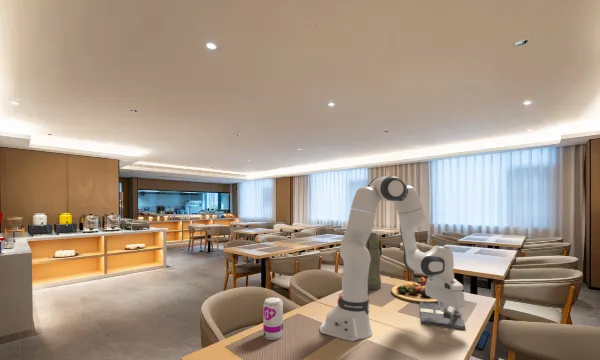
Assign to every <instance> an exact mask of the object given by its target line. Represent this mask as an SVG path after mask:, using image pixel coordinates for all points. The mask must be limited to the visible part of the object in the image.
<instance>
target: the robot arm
mask: <svg viewBox="0 0 600 360" xmlns="http://www.w3.org/2000/svg"><path fill="white" fill-rule="evenodd" d="M381 201H387V202H389V201H390V202H393V203H394V205H395V207H396V211H397V214H398V218H399V231H400V236H401V242H402V247H403V263H404V266H405V267H406V268H407V269H408V270H410V271H411V272H412V271H413V272H417V273H419V274H421V275H424V276H427V278H426V287H425V293H426V295H427V296H429V297H431V298H434V299H436V300H438V304H439V306H440V311H442V312H446V310H447V309H448V307H449V306H451V307H454V308H456V309H459V310H461V309H463V308H465V293H464V289H465V287H464V285H463V284H462V283H461V282H460V281H458V279H456V278H454V277H455V274H454V271H453V270H454V264H455V263H454V254H453V251H452V249H451V248H450V247H448V246H444V245H440V244H439V245H438V244H435V245H434V246H433V247H432V248H431V249H430V250H428V251H426V252H425V251H424V252H423V251H421V250H420V249H419V247H418V246H417V241H416V240H417V239H416V235H415V231H416V229H418V228H420V227H421V226H422V225H423V224H424V223H425V219H426V216H425V209H424V207H423V204H422V201H421V199H420V196H419V194H418V192H417V190H416V188H415V187H413V186H411V185H406V183H405V182H404V181H403V180H402V179H401V178H399V177H397V176H395V175H393V176H392V175H391V176H388V175H385V176H384V175H383V176H377V177H375V178H374V179H372V180H371V181H370V182H369V183H368V185H367V186H360V187H358V188H357V190H356V191H355V194H354V196H353V199H352V203H351V208H350V211H349V216H348V221H347V225H346V228H345V231H344V234H343V237H342V239H341V240H342V241H341V244H340V247H339V255H340V258H342V261H343V271H342V279H341V288H342V289H341V290H342V292H341V293H342V294H340V295H339V296H338V299H337V305H336V306H335V307H334V308H332V309H331V310H329V311H328V312H327V314H326V316H325V320H324V321H323V322H322V323H321V324H320V326H319V327H320V328H319V331H320V333H321V334H324V335H328V336H331V337H334V338H338V339H342V340H345V341H349V342H356V341H358V340H362V339H363V340H364V339H367V338H369V337H371V336H372V335H373V330H372V325H371V322H370V314H369V312H370V300H369V296H368V294H369V293H368V290H369V289H368V286H367V282H368V273H369V264H370V261H371V257H370V253H369V251H368V249H367V248H366V243H367V240H368V238H369V235H370V234H371V233H373V232H372V231H373V228H374V223H375V219H376V213H377V208H378V205H379V203H380V202H381Z"/></svg>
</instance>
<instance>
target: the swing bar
mask: <svg viewBox="0 0 600 360" xmlns="http://www.w3.org/2000/svg"><path fill="white" fill-rule="evenodd" d="M455 310H456V308H454V307H451V306H449V307H448V309H447V310H446V312H444V313H443V314H444V318H448V319H451V318H452V315H453V313H454V312H455Z"/></svg>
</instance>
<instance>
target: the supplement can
mask: <svg viewBox="0 0 600 360" xmlns="http://www.w3.org/2000/svg"><path fill="white" fill-rule="evenodd" d="M262 311H263V316H262V317H263V321H262V322H263V337H264V338H265V339H266V340H270V341H274V340H279V339H281V338H282V336H283V335H284V312H283V311H284V302H283V300H282V298H281V297H277V296H271V297H268V298H267V297H266V298H265V300H264V302H263V310H262Z"/></svg>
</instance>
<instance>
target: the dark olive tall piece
mask: <svg viewBox="0 0 600 360" xmlns="http://www.w3.org/2000/svg"><path fill="white" fill-rule="evenodd" d="M382 244H383V243H382V241H381V240H380V237H379V234H378V233H377V232H371V234H370V235H369V238H368V240H367V243H366V248H367V249H368V251H369V253H370V257H371V261H370V264H369V273H368V282H367V286H368V290H373V291H378V290H381V289H382V287H381V285H382V277H381V274H380V273H381V270H380V269H381V267H380V265H381V264H380V262H381V257H382V255H383V250H382V247H383V245H382Z"/></svg>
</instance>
